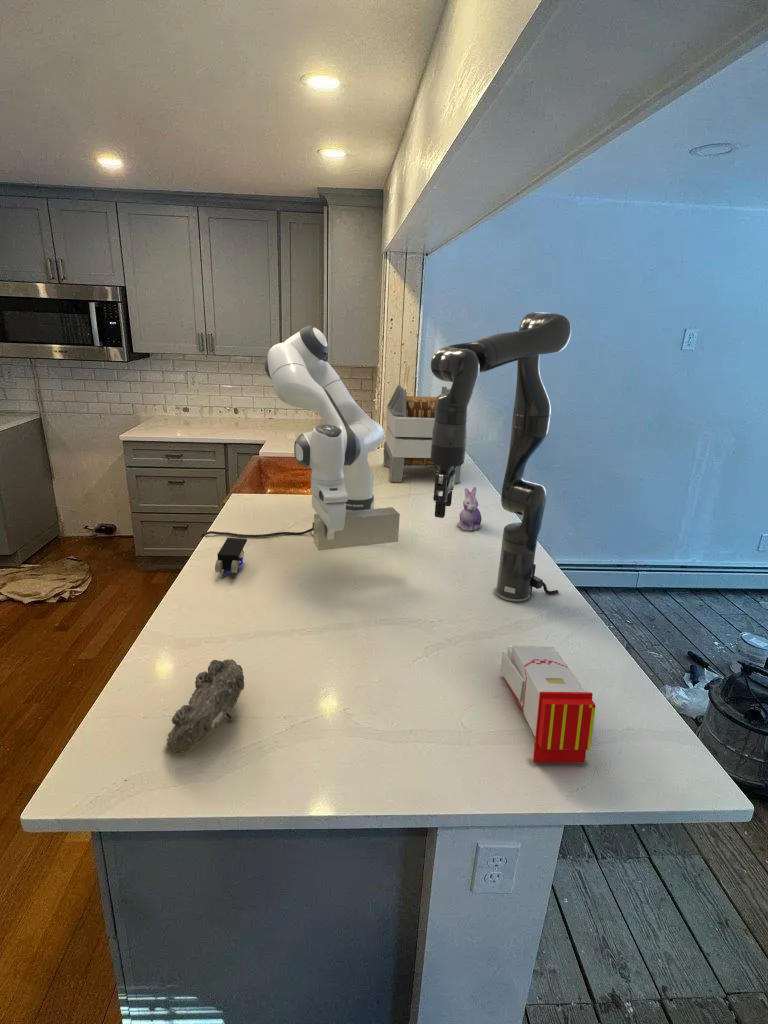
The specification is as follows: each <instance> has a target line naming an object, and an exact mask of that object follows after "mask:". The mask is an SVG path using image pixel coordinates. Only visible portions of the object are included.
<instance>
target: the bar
mask: <svg viewBox="0 0 768 1024" xmlns="http://www.w3.org/2000/svg"><path fill="white" fill-rule="evenodd" d="M400 515H401V514H400V512H399V511H397V510H396V509H395V508H394V507H392V506H391V507H381V508H380V507H379V508H374V509H368V510H356V511H346V513H345V524H344V528H343V530H342V531H335V532H334V539H333V540H328V539H327V538H326V532H327V526H326V525H325V523H324V522H323V520H322V519H321V517H320V516H319V515H318V514H317V513H314V514H313V522H314V535H313V544H314V546H315V548H316V549H317V551H330V550H338V549H346V548H347V549H348V548H355V547H356V548H357V547H363V546H364V547H365V546H374V545H375V546H376V545H384V544H393V543H399V532H400V531H399V530H400Z"/></svg>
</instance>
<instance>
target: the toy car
mask: <svg viewBox="0 0 768 1024" xmlns="http://www.w3.org/2000/svg"><path fill="white" fill-rule="evenodd" d="M247 542H248V538H242V537H226V539H225V541H224V543H223V544H222V546H221V547H220V549H219V551H218V552H217V560H216V562H215V564H214V572H215V573H221V577H222V578H224V577H225V576H226V574H227V573H230V574H231V573H232V574H231V578H234V577H235V575H236V573H237V572H239V571H240V567H242V566H243V565H244V564H245V562H244V558H245V551H244V547H245V546H246V544H247Z"/></svg>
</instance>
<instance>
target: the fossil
mask: <svg viewBox="0 0 768 1024" xmlns="http://www.w3.org/2000/svg"><path fill="white" fill-rule="evenodd" d="M243 670H244V669H243V667H242V665H240V664H237V662H236V661H235V660H234V659H232V658H231V659H227V658H226V659H224V660H223V661H222V660H217V659H212V660H211V661H210V663H209V665H208V666H207V671H201V672H199V673H198V674H197V675H196V676H195V680H194V684H195V685H194V687H195V689H194V690H193V693H192V694H191V697H190V698H189V700H188V704H184V705H182V706H181V707H180V709H177V710H176V711H175V713H174V715H173V716H172V718H171V723H172V724H173V727H172V730H171V731H170V732H168V734H167V738H166V741H167V742H166V745H167V749H168V750H169V751H173V752H174V753H176V754H178V753H182V752H188V751H189V752H192V751H193V750H195V748H196V747H197V746H199V744H200V743H201V742H203V741H204V740H205V739H206V738H207V737H208V736H209V735H210V734H211V733H212V732H214V730H215V729H217V727H218V726H219V724H220V722H221V721H222V720H223V719H224V718H225V716H226V717H227V719H229V720H233V717H232V715H230V714H229V710H230V709H231V708H234V706H235V704H236V703H237V702H238V699H239V697H240V695H241V693H242V691H243V690H245V689H244V688H245V675H244V671H243Z"/></svg>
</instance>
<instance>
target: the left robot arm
mask: <svg viewBox="0 0 768 1024" xmlns="http://www.w3.org/2000/svg"><path fill="white" fill-rule="evenodd" d="M328 355H329V342H328V341H327V338H326V336H325V334H324V333H323V332H322V331H320V329H318V327H316V326H313V325H307V326H305V327H303V328H301V329H299V331H298V332H296V333H294V334H293V335H291V336H290V337H288V338H287V339H286V340H285V341H284V342H279V343H276V344H274V345H272V347H271V348H270V349H269V350H268V352H267V356H266V359H265V361H264V371H265V373H266V375H267V377H268V378H269V379H270V381H271V383H272V387H273V390H274V392H275V394H276V396H277V397H278V399H279V400H280V401H281V402H283V403H284V404H285V405H288V406H291V407H295V408H300V409H304V410H307V411H310V412H313V413H316V414H317V415H319V416H320V417H321V418H322V420H323V421H324V424H318V425H317V426H315V427H314V428H313V429H312V431H307V432H303V433H300V434H299V435H298V436H297V438H296V439H295V441H294V445H293V453H294V458H295V461H296V462H297V463H298V464H300V465H301V466H302V467H305V468H310V469H311V474H310V494H311V507H312V509H313V510H314V512H315V514H318V515H319V516H320V517H321V519H322V520H323V522H324V523H325V525H326V526H327V532H326V538H327V539H328V540H333V539H334V532H335V531H342V530H343V528H344V524H345V513H346V511H356V510H368V509H375V496H374V473H373V471H372V470H371V469H370V465H369V460H368V459H369V458H368V456H369V454H370V453H372V452H374V451H376V450H377V449H378V448H379V447H380V446H381V444H383V442H384V440H385V431H384V428H383V426H382V425H381V424H380V423H379V422H378V421H375V420H374V419H372V418H371V417H370V415H368V414H367V413H366V412H365V411H364V410H363V408H361V407H360V406H359V404H358V403H357V402H356V401H355V399H354V398H353V396H352V395H351V394H350V392H349V390H348V389H347V387H346V385H345V383H344V382H343V381H342V379H341V377H340V376H339V374H338V373H337V372H336V370H335V369H334V368H333V366H332V365H331V364H330V363H329V362H328V359H329V357H328ZM311 523H312V526H311V528H309V529H307V530H304V531H297V532H296V531H278V532H271V533H266V534H265V533H264V534H245V533H244V534H243V533H236V532H235V533H233V532H227V531H226V532H225V531H213V530H209V531H206V532H204V533H203V534H202V535H200V538H204V537H206V536H207V535H220V536H221V535H223V536H233V537H237V538H267V537H273V536H274V537H275V536H280V535H289V536H290V535H291V536H292V535H293V536H301V535H305V534H308V533H311V536H314V521H313V522H311Z"/></svg>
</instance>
